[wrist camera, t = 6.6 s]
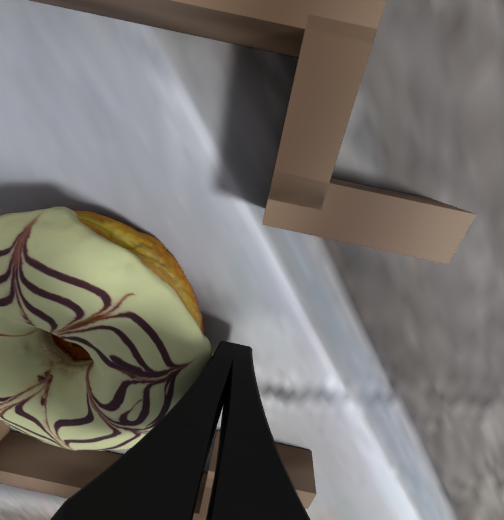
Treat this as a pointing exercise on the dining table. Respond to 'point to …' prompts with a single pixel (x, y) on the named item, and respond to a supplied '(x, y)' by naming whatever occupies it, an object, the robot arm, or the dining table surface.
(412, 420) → the dining table surface
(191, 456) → the robot arm
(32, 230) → the decorated donut
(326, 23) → the frame
